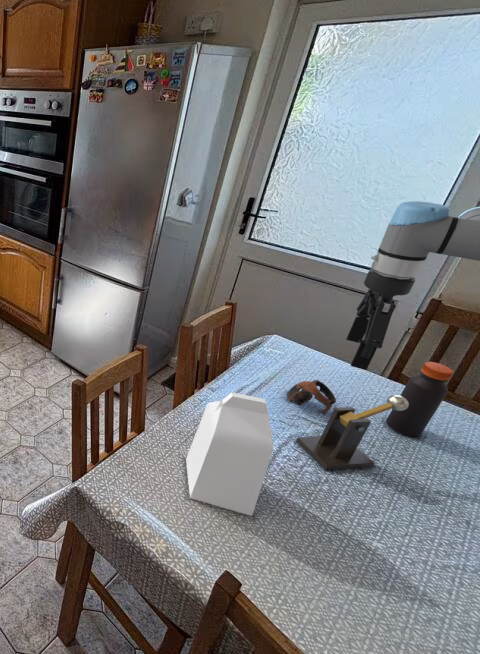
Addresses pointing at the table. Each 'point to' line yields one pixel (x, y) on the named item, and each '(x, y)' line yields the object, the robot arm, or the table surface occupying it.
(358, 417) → the tap lever
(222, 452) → the milk
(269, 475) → the table surface
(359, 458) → the dark grey lever stand
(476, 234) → the robot arm
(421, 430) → the bottle
